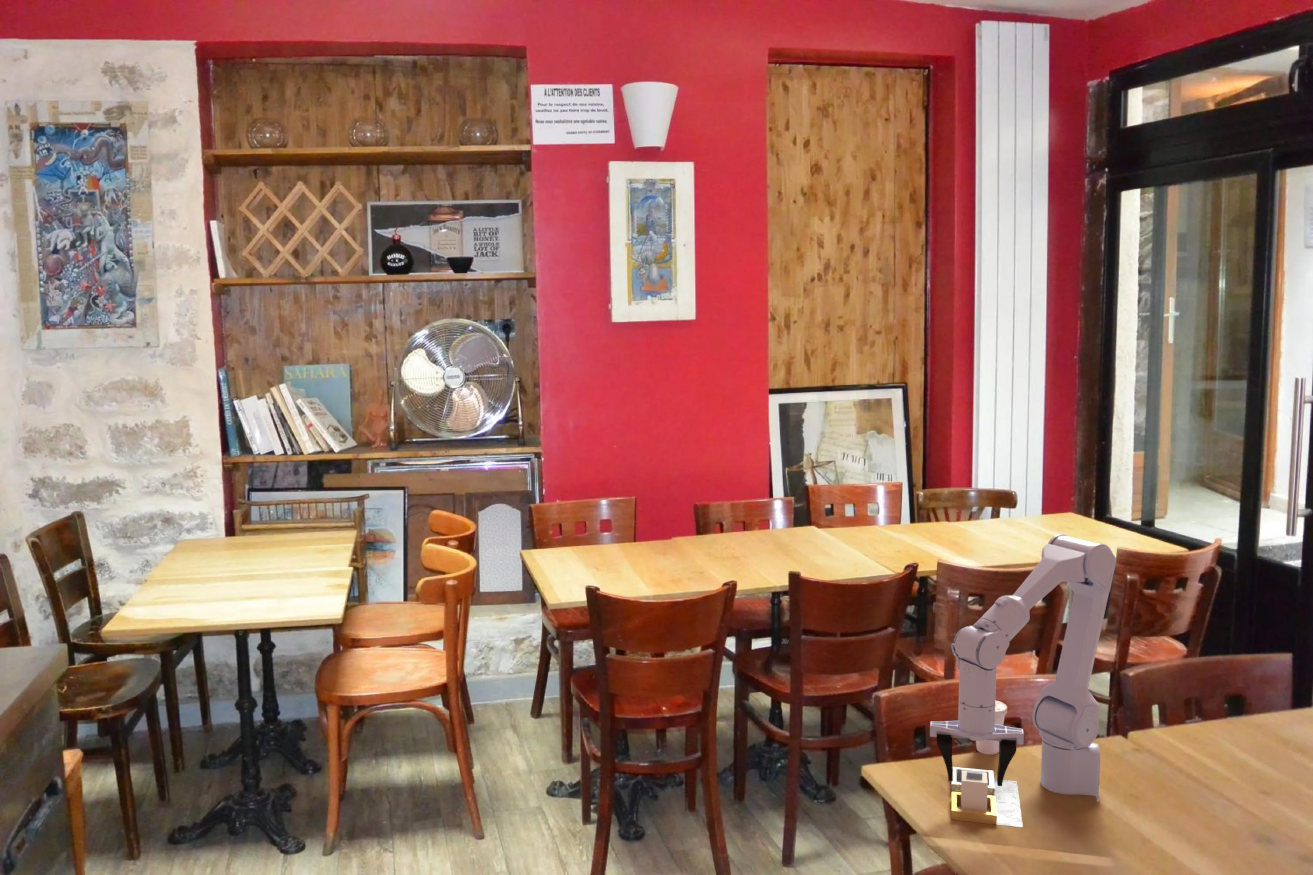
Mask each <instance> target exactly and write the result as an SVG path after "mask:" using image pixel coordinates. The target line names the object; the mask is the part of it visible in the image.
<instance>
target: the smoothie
mask: <svg viewBox="0 0 1313 875" xmlns="http://www.w3.org/2000/svg"><path fill="white" fill-rule="evenodd" d="M1007 713H1008V705H1007V704H1005V703H1004V702H1002V701H999V700H995V724H998V725H1003V726H1004V723H1005V717H1006V714H1007ZM975 745H976V751H977V752H979V753H981V754H984V755H996V754H999V741H992V740H983V741H975Z"/></svg>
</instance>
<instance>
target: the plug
mask: <svg viewBox="0 0 1313 875" xmlns="http://www.w3.org/2000/svg"><path fill="white" fill-rule="evenodd" d="M987 793H988V780H987V773H985V772H982V771H973V770H967V771H964V770H962V773H961V809H962V810H971V811H980V812H987Z"/></svg>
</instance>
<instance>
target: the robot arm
mask: <svg viewBox="0 0 1313 875" xmlns="http://www.w3.org/2000/svg"><path fill="white" fill-rule="evenodd" d="M1116 564H1117V558H1116V556H1115V554H1114V553H1113V551H1112V550H1111V547H1109V546H1108V545H1106V544H1104V543H1098V542H1093V541H1088V540H1085V539H1080V538H1076V537H1073V536H1067V535H1066V534H1065V533H1059V534H1058V533H1057V534H1055V535H1054V536H1052V537H1051V538H1050V540H1049V541H1048V543H1047V544H1046V545H1044V546H1043V547H1042V550H1041V560H1040V561H1039V562H1038V563H1037V565H1036V566H1035V568H1034V569H1033V570H1031V572H1030V574H1029V575H1028V576H1027V577H1026V579H1025V580H1024V581H1023V582H1022V584H1020V586H1019V587H1018V588H1017V589H1016V590H1015V592H1014V593H1013V594H1012V595H1001V596H999V597H998V598H997V599H996V600H995V601H994V604H993V605H992V606H991V607H989V609H988V610H987V611H985V613H984V614H983V615H982V616H981V617H980V618H979V619H978V620H977V621H976V622H975V623H974V624H973V625H968V626H965V627H963V628H961V629H959V630H958V631H957V633H956V634H955V637H954V639H953V642H952V643H951V651H952V655H954V657H955V659H956V668H957V669H958V675H959V677H958V710H957V711H958V714H957V718H958V719H957V720H944V721H942V720H941V721H934V720H933V721H932V720H931V721H930V722H929V737H930V738H936V745H937V748H938V750H939V752H940V754H941V755H942V756H941V757H942V760H943V762H944V764H945V767H946V773H947V778H948V782H951V781H953V767H954V766H953V738H958V739H959V738H960V739H969V740H970V741H974V742H976V741H983V740H992V741H999V752H998V764H997V772H996V774H997V775H996V779H997V785H998V786H1002V783H1003V780H1004V778H1005V774H1006V771H1007V769H1008V766H1009V765H1010V763H1011V762H1012V759H1013V758H1014V757H1015V754H1016V752H1017V745H1021V746H1023V745H1024V738H1025V737H1024V736H1025V734H1024V729H1023V728H1020V727H1019V728H1018V727H1012V726H1006V725H1004V724H1003V725H998V724H995V700H996V697H997V695H996V694H997V667H998V666H999V665H1001V664H1002V662H1003V661H1004V659H1005V656H1006V652H1007V649H1008V648H1009V647H1010V642H1011V641H1012V640H1013V638H1014V637H1015V636H1016V635H1017V634H1018V633H1020V631H1021V630H1022V629H1023V628H1024V627H1025V626H1026V625H1027V623H1029V621H1030V618H1031V616H1030V610H1032V609H1033V607H1035V605H1036V604H1038V603H1039V602H1040V601H1041V600H1043V599H1044V598H1045V597H1046V596H1047V595H1048V594H1049V593H1051V592H1052V591H1053V590H1054V589H1055V588H1056V587H1057V586H1058V585H1059V584H1060V583H1067V584H1068V586H1069V587H1070V589H1071V590H1072V592H1073V598H1072V601H1071V607H1070V609H1069V610H1070V612H1069V615H1068V620H1067V625H1066V628H1065V634H1064V638H1063V643H1062V647H1061V648H1062V649H1061V653H1060V658H1059V662H1058V666H1057V671H1056V674H1055V675H1056V676H1055V680H1054V682H1051V683H1050V684H1047V685H1046V686H1043V687H1042V688H1041V689H1040V690H1041V691H1040V693H1039V694H1040V695H1039V698H1038V699H1037V702H1036V703H1035V704H1034V706H1033V709H1032V717H1031V718H1032V723H1033V725H1034V727H1035V728H1036V729H1037V730H1038V736H1039V737H1041V755H1040V756H1041V759H1040V761H1041V762H1040V782H1039V783H1040V785H1041V786H1042V787H1043V788H1044V789H1046V790H1048V791H1050V792H1052V793H1056V794H1062V795H1085V796H1094V797H1095V799H1096V802H1097V803H1098V804H1099V802H1100V799H1099V798H1100V796H1099V795H1100V786H1101V781H1100V778H1101V777H1100V776H1101V774H1100V773H1101V770H1100V769H1101V753H1100V746H1099V744H1098V742H1097V743H1096V742H1094V741H1095V739H1096V738H1097V737H1098V734H1099V729H1100V722H1099V710H1100V705H1099V703H1098V701H1097V700H1096V698H1094V696H1093V695H1092V693H1091V692H1090V690H1089V687H1090V682H1091V678H1092V673H1093V668H1094V664H1095V658H1096V654H1097V650H1098V645H1099V641H1100V636H1101V631H1102V628H1103V627H1102V626H1103V622H1104V617H1105V612H1106V610H1107V609H1106V607H1107V603H1108V598H1109V594H1110V592H1111V587H1112V582H1113V578H1114V573H1115V568H1116ZM996 701H997V700H996Z"/></svg>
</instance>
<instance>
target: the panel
mask: <svg viewBox="0 0 1313 875" xmlns="http://www.w3.org/2000/svg"><path fill="white" fill-rule="evenodd" d="M962 770H964V771H967V770H973V771H982V772H985V773H987V780H988V793H987V812H980V811H971V810H962V809H961V773H962ZM994 774H995V773H994V770H987V769H978V768H971V767H970V768H968V767H957V766H953V781H950V782H951V786H950V787H951V789H950V790H951V797H950V800H951V806H950V807H951V808H950V809H951V810H950V813H951V816H950V817H951V821H960V822H961V821H962V822H971V823H978V824H987V825H997V826H1004V827H1005V826H1006V827H1016V828H1024V824H1023V819H1022V818H1023V817H1022V810H1021V801H1020V794H1019V785H1018V781H1017V780H1009V779H1008V780H1006V779H1003V783H1002V786H998V785H997V778H994V776H995V775H994Z"/></svg>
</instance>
